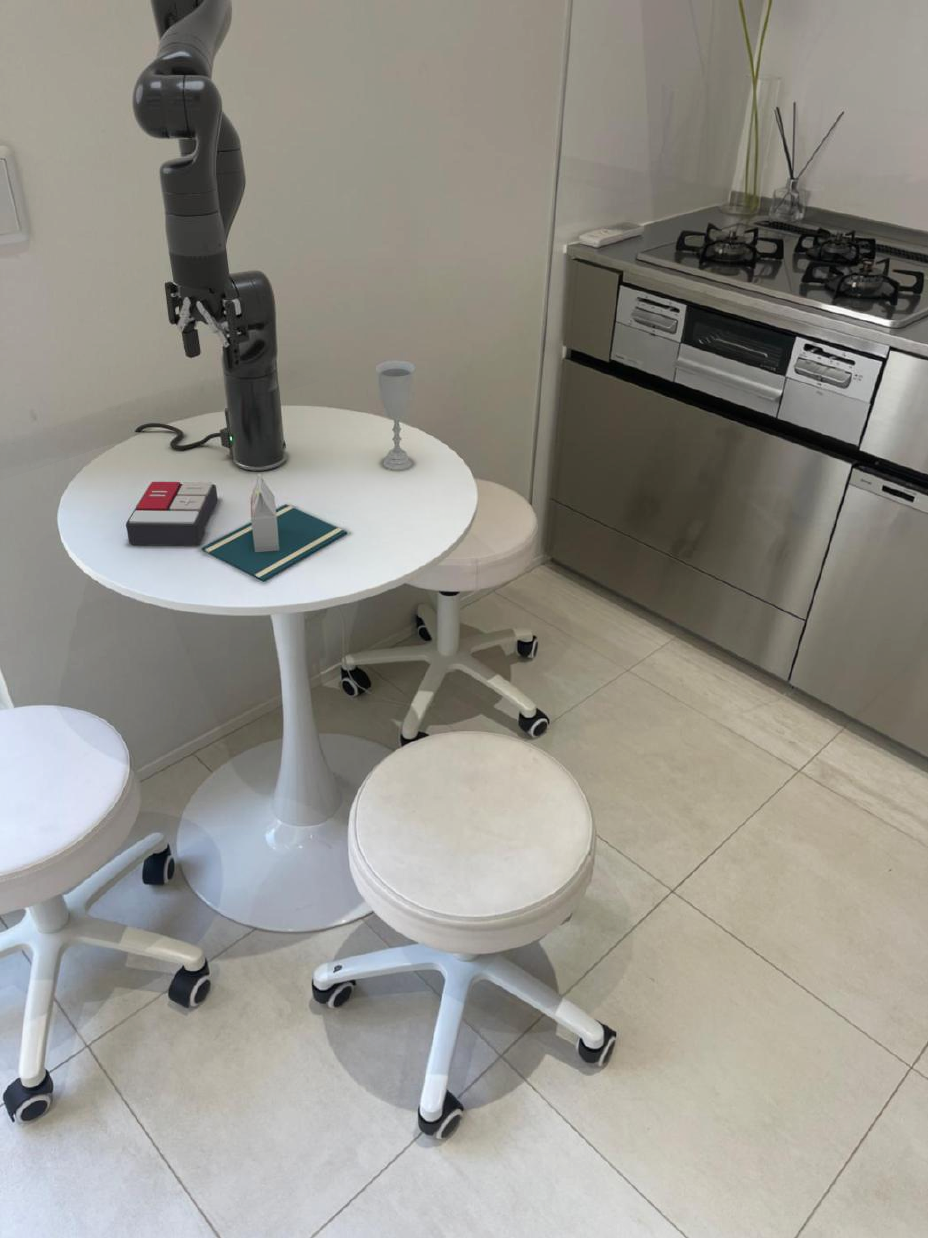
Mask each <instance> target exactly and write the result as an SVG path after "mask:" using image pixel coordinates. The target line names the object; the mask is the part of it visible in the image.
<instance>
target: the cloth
mask: <svg viewBox="0 0 928 1238" xmlns="http://www.w3.org/2000/svg"><path fill="white" fill-rule="evenodd" d="M276 517H277V526H278V539H279V550H278V551H265V552H255V547H254V539H253V531H252V523H251V522H248V523H246V524H244V525H243V526H240V527H239V528H237V529H235V530H233V531H231V532H229V533H227V534H225V535H223V536H221V537H220V538H217V539H216V540H213V541H212V542H209V543H208V544H206V545H204V546H202V547H201V551H203V552H205V553H207V554H209V555H210V556H212V557H215V558H217V559H218V560H221V561H223V562H225V563H226V564H228V565H230V566H233V567H235V568H236V569H239V570H240V571H242V572H244V573H246V574H249V575H250V576H252V577H254V578H256V579H258V580H260V581H262V582H266V581H267V580H269V579H271V578H272V577H275V575H278V574H280V573H282V572H283V571H285V570H287V569H288V568H290V567H292V566H294V565H295V564H297V563H298V562H301V561H302V560H303V559H306V558H307V557H309V556H311V555H312V554H314V553H317V552H318V551H319V550H322V549H323V548H325V547H326V546H328V545H330V544H332V543H333V542H335V541H337V540H339V539H340V538H343V537H344V536H345V535H347V534H348V531H347V530H344V529H342V528H340V527H337V526H335V525H333V524H331V523H328V522H326V521H325V520H324V521H323V520H321V519H320V518H317V517H315V516H313V515H311V514H308V513H306V512H303V511H302V510H299V509H297V508H295V507H293V506H291V505H288V504H283V505H281V506H280V507H277V508H276Z"/></svg>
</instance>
